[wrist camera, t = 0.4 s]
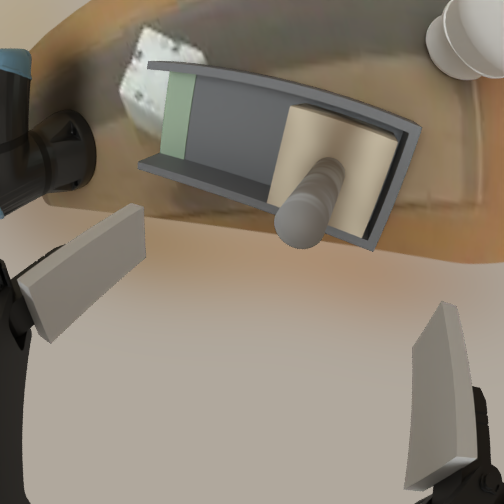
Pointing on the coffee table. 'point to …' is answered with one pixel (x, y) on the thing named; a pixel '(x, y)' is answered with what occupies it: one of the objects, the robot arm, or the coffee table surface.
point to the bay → (256, 136)
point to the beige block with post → (327, 174)
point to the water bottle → (468, 39)
